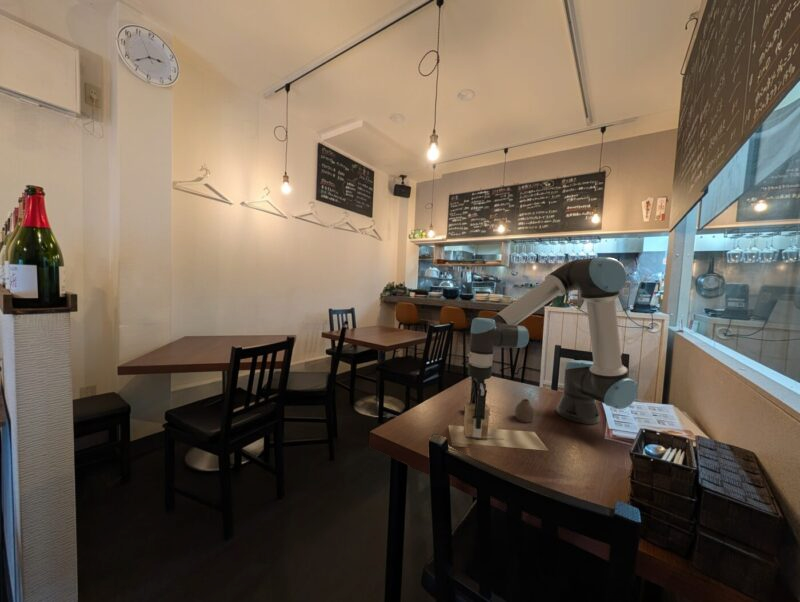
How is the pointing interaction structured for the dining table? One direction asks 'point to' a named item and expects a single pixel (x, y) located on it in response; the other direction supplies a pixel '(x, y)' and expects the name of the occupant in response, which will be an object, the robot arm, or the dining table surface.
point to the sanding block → (469, 421)
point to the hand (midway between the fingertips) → (475, 432)
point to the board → (498, 438)
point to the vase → (524, 411)
